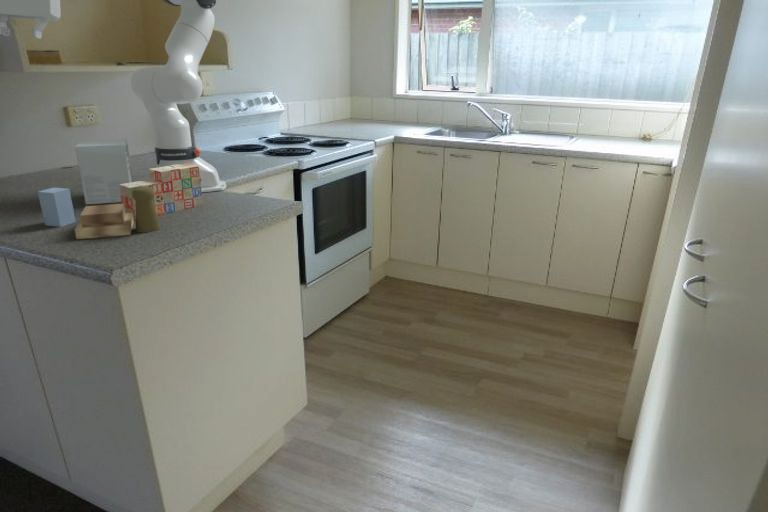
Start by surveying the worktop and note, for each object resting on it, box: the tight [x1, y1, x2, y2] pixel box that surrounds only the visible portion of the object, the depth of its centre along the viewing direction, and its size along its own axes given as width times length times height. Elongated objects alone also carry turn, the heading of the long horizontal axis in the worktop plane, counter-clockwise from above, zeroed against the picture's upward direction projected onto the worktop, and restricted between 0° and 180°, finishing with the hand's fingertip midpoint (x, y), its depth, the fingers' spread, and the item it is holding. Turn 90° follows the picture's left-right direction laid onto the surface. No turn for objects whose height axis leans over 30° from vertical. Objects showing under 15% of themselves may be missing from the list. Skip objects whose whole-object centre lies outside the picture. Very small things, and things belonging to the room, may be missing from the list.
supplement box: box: [74, 138, 134, 205], centre depth 161 cm, size 13×13×18 cm
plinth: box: [74, 203, 135, 240], centre depth 133 cm, size 12×12×6 cm
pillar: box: [37, 187, 76, 228], centre depth 138 cm, size 5×5×9 cm
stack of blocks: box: [119, 164, 203, 221], centre depth 150 cm, size 21×6×12 cm, turn 142°
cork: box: [132, 187, 162, 233], centre depth 134 cm, size 6×6×11 cm
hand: (20, 36), depth 130 cm, fingers open, 8 cm apart
